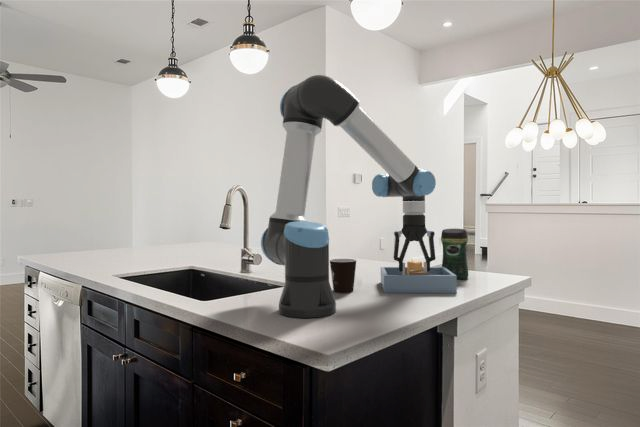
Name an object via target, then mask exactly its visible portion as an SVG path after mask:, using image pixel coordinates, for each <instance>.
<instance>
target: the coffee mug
mask: <svg viewBox="0 0 640 427" xmlns="http://www.w3.org/2000/svg"><path fill="white" fill-rule="evenodd" d="M329 267H330V274H331V281H332V282H331V283H332V292H333V293H337V294H349V293H350V294H351V293H353V292H354V287H355V286H354V285H355V280H356V278H355V277H356V267H357V259H355V258H333V259H329Z"/></svg>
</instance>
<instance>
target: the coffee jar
mask: <svg viewBox="0 0 640 427" xmlns="http://www.w3.org/2000/svg"><path fill="white" fill-rule="evenodd" d="M468 240H469V238H468V231H467V230H466V228H465V229H464V228H445V229H442V231H441V236H440V241H441V244H442V260H441V267H445V268H446V269H448V270H449V271H451V272H452V273H454V274H455V275H456V276H457V280H464V279H467V278H469V266H468V257H467V243H468Z"/></svg>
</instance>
